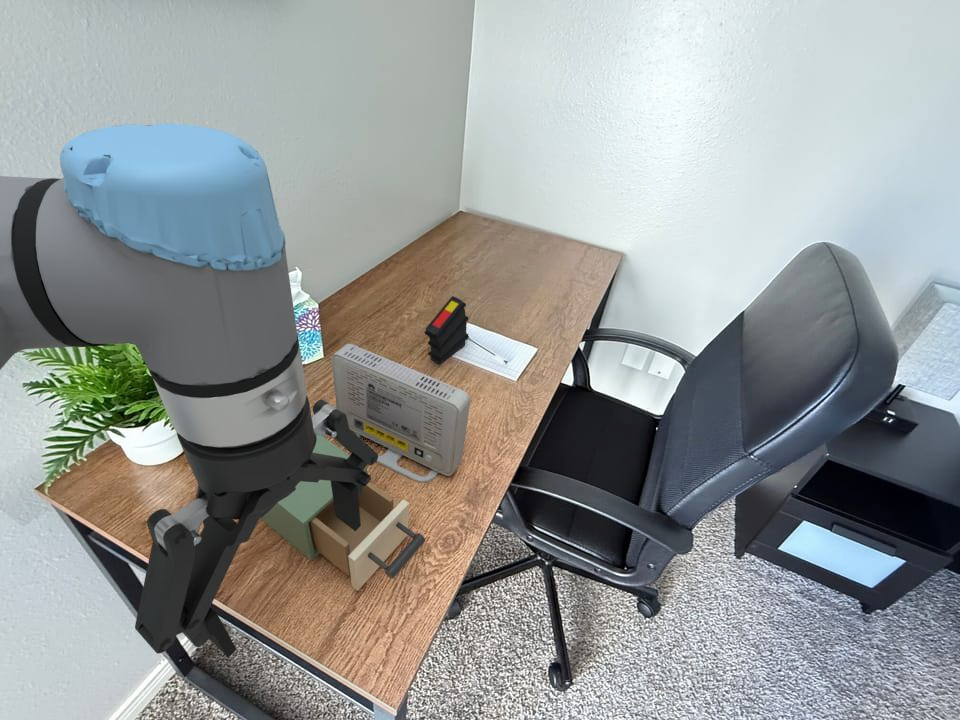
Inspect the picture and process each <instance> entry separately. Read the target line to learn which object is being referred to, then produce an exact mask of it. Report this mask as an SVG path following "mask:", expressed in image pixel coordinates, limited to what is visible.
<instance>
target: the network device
mask: <svg viewBox="0 0 960 720" xmlns="http://www.w3.org/2000/svg"><path fill="white" fill-rule="evenodd" d="M330 358H331V359H330V360H331V369H332V376H333V377H332V378H333V379H332V380H333V386H334V387H333V389H334V396H335V404H336V405H335V406H336V408H337V409H338V410H340V411H342V412H343V413H345V414H346V417H347V421H348V425H349V429H350V430H351V431H353V432H354V433H355V434H356V435H357V436H358V437H359V438H360V439H361V437H364V438H367V439H369V440H370V441H373V442H375V443H377V444H379V445H381V446H383V447H384V448H387V450H386V451H385V453H383V454H381V455H378V459H377V461H376V462H375V463H377V464H379V465H381V466H383V467H385V468H387V469H389V470H391V471H393V472H396V473H397V474H400V475H402V476H403V477H406V478H408V479H410V481H413V482H416V483H421V484H424V483H429V482H431V481H433V480H434V479H436V477H437V475H438V474H441V475H444V476H447V477H450V476H452V475H453V474H454V472H455V471H456V469H457V468H458V466H459V465H460V464H461V462H462V461H463V456H464V448H465V442H466V436H467V428H468V420H469V413H470V407H471V406H470V404H471V396H470V395H469V394H468V393H467V392H466V391H464V390H463V389H461V388H458V387H456V386H454V385H451V384H448V383H446V382H444V381H441V380H439V379H437V378H434V377H432V376H429V375H427V374H425V373H423V372H420V371H418V370H415V369H412V368H410V367H407V366H405V365H403V364H402V363H398V362H396V361H393V360H392V359H391V360H390V359H388V358H386V357H383V356H381V355H379V354H376V353H374V352H372V351H369V350H367V349H364V348H362V347H359V346H357V345H355V344H352V343H346V344H345V345H344V346H343V347H341V348H339V349H338V350H337V351H336V352H334V354H332V355H331V357H330ZM403 456H404V457H406V458H408V459H410V460H412V461H415V462H417V463H418V464H421V465H423V466H425V467H427V468H429V469H431V470H430V471H429V473H428V474H427V475H425V476H420V475H418V474H416V473H414V472H412V471H410V470H408V469H406V468H404V467H401V466H399V464H398V462H399V461H400V460H401V459H402V457H403Z"/></svg>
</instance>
